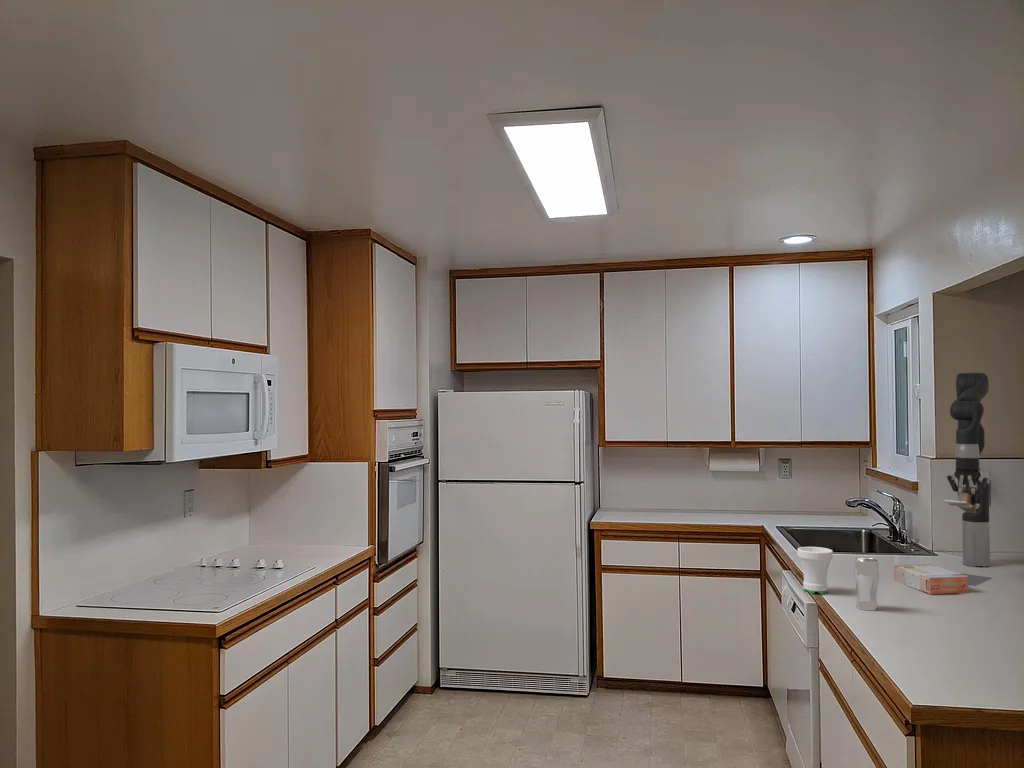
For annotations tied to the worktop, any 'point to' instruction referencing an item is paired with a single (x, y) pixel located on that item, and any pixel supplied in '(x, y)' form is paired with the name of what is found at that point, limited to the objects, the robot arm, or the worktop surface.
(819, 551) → the cup
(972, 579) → the mat
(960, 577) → the cracker box
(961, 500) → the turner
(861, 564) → the beer glass
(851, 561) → the worktop surface
